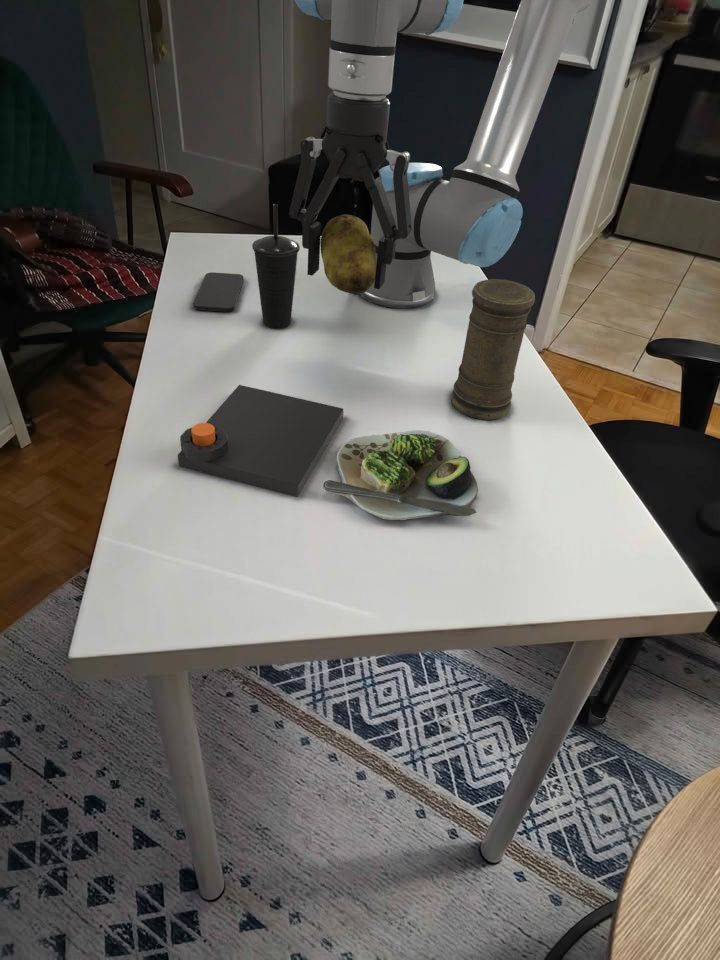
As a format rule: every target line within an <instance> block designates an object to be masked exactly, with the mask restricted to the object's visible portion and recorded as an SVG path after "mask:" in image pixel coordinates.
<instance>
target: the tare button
mask: <svg viewBox="0 0 720 960" xmlns="http://www.w3.org/2000/svg"><path fill="white" fill-rule="evenodd" d="M191 428H192V429H191V431H192V440H193V443H194V444H195V445H198V446H209V445H211V444H214V442H215V440H216V439H215V428H214V426H213V425H211V424H209V423H206V422H200V423H196V424H194V425H193V426H192V427H191Z"/></svg>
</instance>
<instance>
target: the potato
mask: <svg viewBox="0 0 720 960" xmlns="http://www.w3.org/2000/svg"><path fill="white" fill-rule="evenodd" d="M375 247H376V245H375V242H374V239H373V238H372V236H371V233H370V231H369V228H368V225H367V223H366V221H363V219H361V218H359V217H358V216H355V215H351V214H341V215H338V216H335V217H333V218H331V219H330V220H328V222H327V223H326V225H325V226H324V228H323V230H322V232H321V236H320V256H321V259H322V262H323V270H324V274H325V276H326V278H327V280H328V282H329V284H331V285H332V286H333V287H334V288H335V289H337V290H339V291H341V292H344V293H346V294H349V295H353V296H357V295H360V294H361V293H364V292H366V291H367V290H368V289H369V288H370V287H371V286H372V284H373V283H374V281H375V277H376V276H375V273H376V252H375Z"/></svg>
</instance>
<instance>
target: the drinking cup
mask: <svg viewBox="0 0 720 960" xmlns="http://www.w3.org/2000/svg"><path fill="white" fill-rule="evenodd" d="M272 206H273V207H272V208H273V212H272V213H273V216H272V217H273V235H267V236H263V237H261V238H258V239H255V240H254V241H253V242H252V244H251V247H252V250H253V252H254V259H255V266H256V275H257V284H258V292H259V299H260V300H259V301H260V307H261V316H262V323H263V325H264V326H265V327H267V328H270V329H279V330H280V329H281V330H282V329H285V328H288V327H290V325H291V323H292V315H293V313H292V312H293V305H294V303H293V302H294V294H295V284H296V274H297V265H298V253H299V251H300V249H301V248H300V244H299V243H298V242H297V241H295V240H293V239H291V238H288V237H286V236H284V235H283V236H282V235H279V208H278V207H279V205H278V203H273V205H272Z"/></svg>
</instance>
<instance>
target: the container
mask: <svg viewBox="0 0 720 960" xmlns="http://www.w3.org/2000/svg"><path fill="white" fill-rule="evenodd" d="M471 296H472V299H471V300H472V301H471V303H472V308H471V312H470V314H469V316H468V319H469V320H468V325H467V330H466V336H465V343H464V347H463V353H462V359H461V363H460V365H459V367H458V375H457V379H456V381H454V383H453V390H452V391H451V394H450V399H451V404H452V406H453V407H454V408H455V409H456V410H457V411H458V412H460V413H462V414H463V415H465V416H467V417H470V418H474V419H478V420H485V421H487V420H489V421H491V420H498V419H502V418H503V417H505V416H507V414H508V413H509V412H510V410H511V406H512V399H513V392H512V388H513V384H514V382H515V372H516V368H517V363H518V359H519V355H520V351H521V347H522V342H523V338H524V335H525V330H526V329H527V319H528V316H529V314H530V313H531V310H532V307H533V306H534V304H535V301H536V295H535V292H534V291H533V290H532V288H529V287H528V286H526V285H524V284H523V283H520V282H517V281H512V280H508V279H501V278H500V279H497V278H492V279H491V278H490V279H483V280H480V281H478V282H477V283H475V285H474V286H473V288H472V291H471Z"/></svg>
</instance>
